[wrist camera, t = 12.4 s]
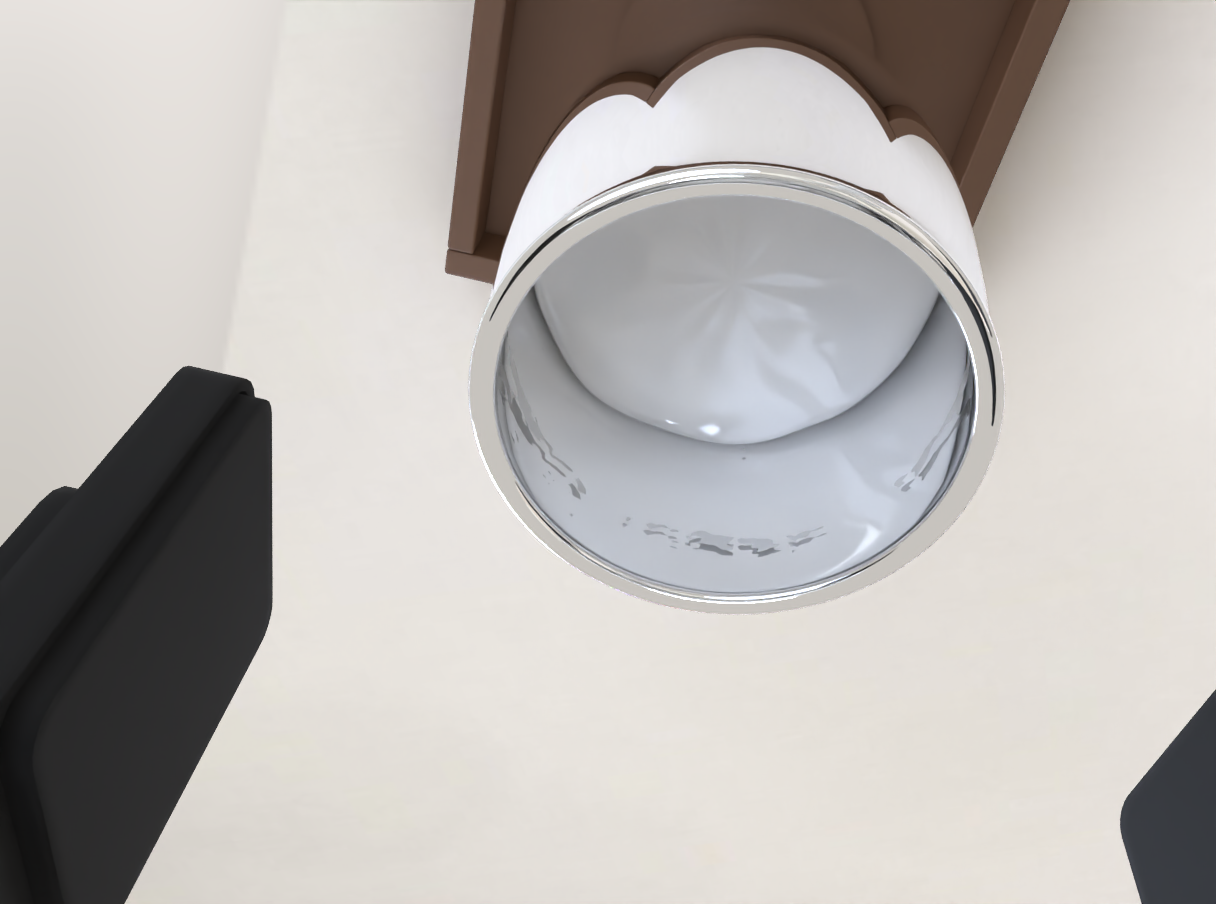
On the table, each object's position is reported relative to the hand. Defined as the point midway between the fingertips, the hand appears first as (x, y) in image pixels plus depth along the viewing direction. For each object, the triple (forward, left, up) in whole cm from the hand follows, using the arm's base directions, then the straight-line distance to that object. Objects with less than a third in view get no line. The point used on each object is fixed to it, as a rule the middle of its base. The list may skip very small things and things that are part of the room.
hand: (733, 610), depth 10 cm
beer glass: (0, 0, -19) cm, 19 cm away
